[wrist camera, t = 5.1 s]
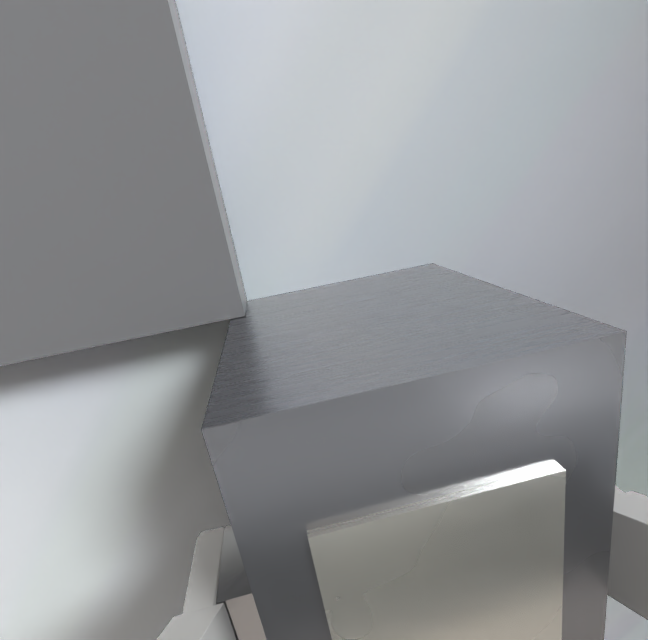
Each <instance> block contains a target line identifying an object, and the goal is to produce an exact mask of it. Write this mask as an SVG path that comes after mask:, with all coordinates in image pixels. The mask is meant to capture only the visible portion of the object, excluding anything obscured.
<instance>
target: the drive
mask: <svg viewBox="0 0 648 640" xmlns="http://www.w3.org/2000/svg"><path fill="white" fill-rule="evenodd" d="M626 333H627V331H624V330H622V329H619V328H616V327H613V326H610V325H607V324H604V323H602V322H599V321H596V320H593V319H590V318H587V317H584V316H582V315H579V314H576V313H573V312H570V311H567V310H564V309H561V308H559V307H556V306H553V305H550V304H547V303H544V302H541V301H539V300H536V299H533V298H530V297H527V296H524V295H521V294H519V293H516V292H513V291H510V290H507V289H504V288H501V287H499V286H496V285H493V284H490V283H487V282H484V281H481V280H479V279H476V278H473V277H470V276H467V275H464V274H461V273H459V272H456V271H453V270H450V269H447V268H444V267H441V266H439V265H436V264H433V263H432V264H427V265H422V266H417V267H412V268H407V269H402V270H397V271H392V272H387V273H383V274H378V275H373V276H368V277H363V278H358V279H353V280H348V281H343V282H338V283H333V284H328V285H323V286H318V287H313V288H309V289H304V290H299V291H294V292H289V293H284V294H279V295H274V296H269V297H264V298H259V299H254V300H249V301H247V306H246V313H245V316H243V317H238V318H233V319H231V321H230V324H229V328H228V332H227V336H226V339H225V343H224V347H223V351H222V354H221V358H220V362H219V365H218V369H217V373H216V377H215V380H214V384H213V388H212V392H211V395H210V399H209V403H208V406H207V410H206V414H205V418H204V421H203V425H202V429H201V430H202V434H203V437H204V440H205V443H206V446H207V450H208V453H209V456H210V459H211V463H212V466H213V469H214V472H215V475H216V479H217V482H218V485H219V488H220V491H221V495H222V498H223V501H224V504H225V508H226V511H227V514H228V517H229V520H230V524H231V527H232V530H233V533H234V536H235V540H236V543H237V546H238V549H239V553H240V556H241V559H242V562H243V565H244V569H245V572H246V575H247V578H248V581H249V585H250V588H251V591H252V594H253V598H254V601H255V604H256V607H257V610H258V614H259V617H260V620H261V623H262V626H263V630H264V633H265V636H266V639H267V640H604V630H605V617H606V603H607V590H608V576H609V563H610V549H611V536H612V522H613V509H614V495H615V482H616V468H617V455H618V441H619V428H620V414H621V401H622V387H623V374H624V360H625V347H626Z"/></svg>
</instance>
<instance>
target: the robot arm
mask: <svg viewBox="0 0 648 640" xmlns="http://www.w3.org/2000/svg"><path fill="white" fill-rule="evenodd" d="M607 595H609V596H610V597H612V598H614V599H615V600H617V601H618V602H620V603H621V604H623V605H625V606H626V607H628V608H629V609H631V610H633V611H634V612H636V613H637V614H639V615H641V616H642V617H644V618H645V619H647V620H648V496H646V495H643V494H640V493H637V492H634V491H629V492H623V491H622V490H621V489H619V488H618V487H617V486H616V485H615V495H614V509H613V522H612V536H611V549H610V563H609V576H608V590H607ZM156 640H267V639H266V636H265V633H264V630H263V626H262V623H261V620H260V617H259V614H258V610H257V607H256V604H255V601H254V598H253V594H252V591H251V588H250V585H249V581H248V578H247V575H246V572H245V569H244V565H243V562H242V559H241V556H240V553H239V549H238V546H237V543H236V540H235V536H234V533H233V530H232V527H231V525H226V526H225V527H220V528H216V529H212V530H207V531H203V532H201V533H200V534H199V536H198V538H197V541H196V546H195V551H194V556H193V561H192V566H191V571H190V576H189V581H188V586H187V591H186V596H185V601H184V607H183V612H182V614H180V615H177V616H174V617H173V618H172V619H171V621H170V622H169V623H168V625H167V626H166V627H165V629H164V630H163V631H162V633H161V634H160V635H159V637H158V638H157V639H156Z"/></svg>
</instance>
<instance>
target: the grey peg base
mask: <svg viewBox="0 0 648 640" xmlns="http://www.w3.org/2000/svg"><path fill="white" fill-rule="evenodd" d="M246 306H247V298H246V293H245V289H244V285H243V281H242V277H241V273H240V268H239V264H238V260H237V256H236V252H235V248H234V243H233V239H232V235H231V231H230V227H229V223H228V218H227V214H226V210H225V206H224V202H223V198H222V193H221V189H220V185H219V181H218V177H217V173H216V168H215V164H214V160H213V156H212V152H211V148H210V143H209V139H208V135H207V131H206V127H205V123H204V118H203V114H202V110H201V106H200V102H199V97H198V93H197V89H196V85H195V81H194V77H193V72H192V68H191V64H190V60H189V56H188V52H187V47H186V43H185V39H184V35H183V31H182V27H181V22H180V18H179V14H178V10H177V6H176V2H175V0H0V366H5V365H10V364H15V363H20V362H24V361H29V360H34V359H39V358H44V357H49V356H54V355H58V354H63V353H68V352H73V351H78V350H83V349H88V348H92V347H97V346H102V345H107V344H112V343H117V342H122V341H126V340H131V339H136V338H141V337H146V336H151V335H155V334H160V333H165V332H170V331H175V330H180V329H185V328H189V327H194V326H199V325H204V324H209V323H214V322H219V321H223V320H228V319H233V318H238V317H243V316H245V313H246Z"/></svg>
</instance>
